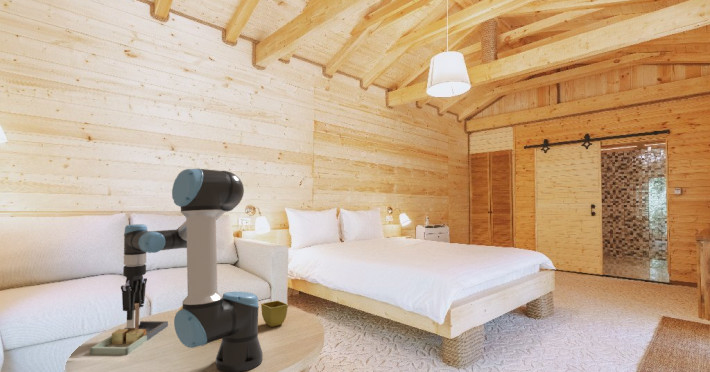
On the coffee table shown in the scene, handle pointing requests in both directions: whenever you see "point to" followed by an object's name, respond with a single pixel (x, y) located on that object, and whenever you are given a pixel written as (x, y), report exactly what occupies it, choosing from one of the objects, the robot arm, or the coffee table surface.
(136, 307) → the bent wooden stick
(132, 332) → the light brown cube
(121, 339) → the tan cube
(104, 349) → the tray
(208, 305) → the robot arm
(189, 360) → the coffee table surface
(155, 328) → the dark grey shallow tray
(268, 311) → the flower pot
